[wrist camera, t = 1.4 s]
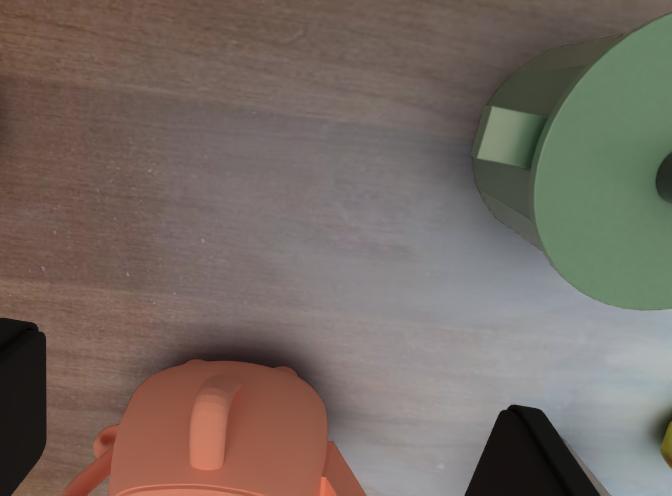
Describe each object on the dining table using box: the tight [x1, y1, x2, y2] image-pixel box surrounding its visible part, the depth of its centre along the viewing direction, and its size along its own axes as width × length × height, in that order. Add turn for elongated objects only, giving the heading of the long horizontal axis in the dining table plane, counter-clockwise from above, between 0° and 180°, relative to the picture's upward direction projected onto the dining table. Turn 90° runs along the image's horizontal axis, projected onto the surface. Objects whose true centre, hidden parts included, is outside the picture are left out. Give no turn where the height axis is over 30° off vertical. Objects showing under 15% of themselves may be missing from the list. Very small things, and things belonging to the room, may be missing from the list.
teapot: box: [61, 359, 367, 496], centre depth 29 cm, size 16×17×14 cm
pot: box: [470, 33, 626, 251], centre depth 24 cm, size 13×18×10 cm
